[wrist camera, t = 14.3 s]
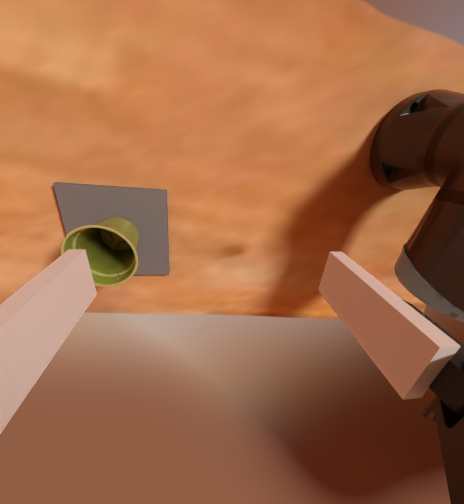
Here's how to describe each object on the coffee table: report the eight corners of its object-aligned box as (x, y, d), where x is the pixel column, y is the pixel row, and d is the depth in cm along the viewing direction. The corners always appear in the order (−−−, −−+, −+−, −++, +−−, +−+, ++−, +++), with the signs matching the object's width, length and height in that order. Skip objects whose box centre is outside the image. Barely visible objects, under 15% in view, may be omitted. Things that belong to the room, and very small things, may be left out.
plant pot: (106, 263, 39) (85, 294, 31) (76, 215, 34) (43, 237, 27) (157, 250, 39) (148, 276, 32) (134, 199, 35) (118, 217, 27)
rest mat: (166, 189, 36) (165, 191, 35) (169, 272, 43) (168, 275, 42) (56, 182, 33) (52, 183, 32) (79, 272, 40) (76, 275, 39)
